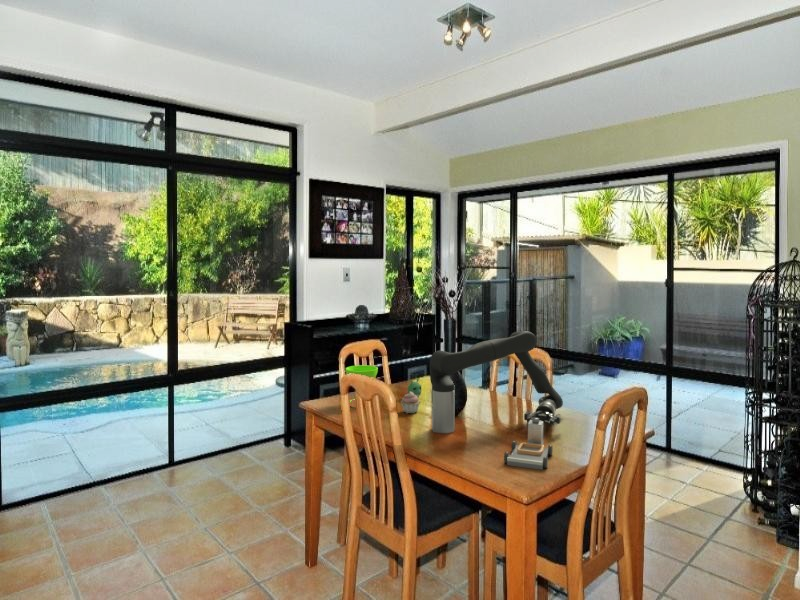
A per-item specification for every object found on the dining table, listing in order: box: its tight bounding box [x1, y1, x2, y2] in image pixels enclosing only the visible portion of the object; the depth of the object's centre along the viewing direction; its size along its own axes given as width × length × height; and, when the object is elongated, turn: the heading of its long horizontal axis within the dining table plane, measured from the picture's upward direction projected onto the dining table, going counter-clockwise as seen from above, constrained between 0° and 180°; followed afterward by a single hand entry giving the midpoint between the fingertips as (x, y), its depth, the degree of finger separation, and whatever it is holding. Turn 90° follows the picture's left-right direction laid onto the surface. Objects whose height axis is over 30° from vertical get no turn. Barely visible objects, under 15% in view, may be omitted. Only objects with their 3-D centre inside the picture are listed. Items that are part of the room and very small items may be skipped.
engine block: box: [527, 417, 544, 445], centre depth 211 cm, size 5×5×10 cm
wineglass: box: [345, 364, 379, 402], centre depth 274 cm, size 16×16×18 cm
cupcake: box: [400, 391, 421, 414], centre depth 259 cm, size 9×9×10 cm
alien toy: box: [407, 378, 422, 398], centre depth 285 cm, size 7×8×10 cm
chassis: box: [503, 440, 554, 471], centre depth 197 cm, size 18×14×4 cm
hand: (539, 422), depth 222 cm, fingers open, 8 cm apart
